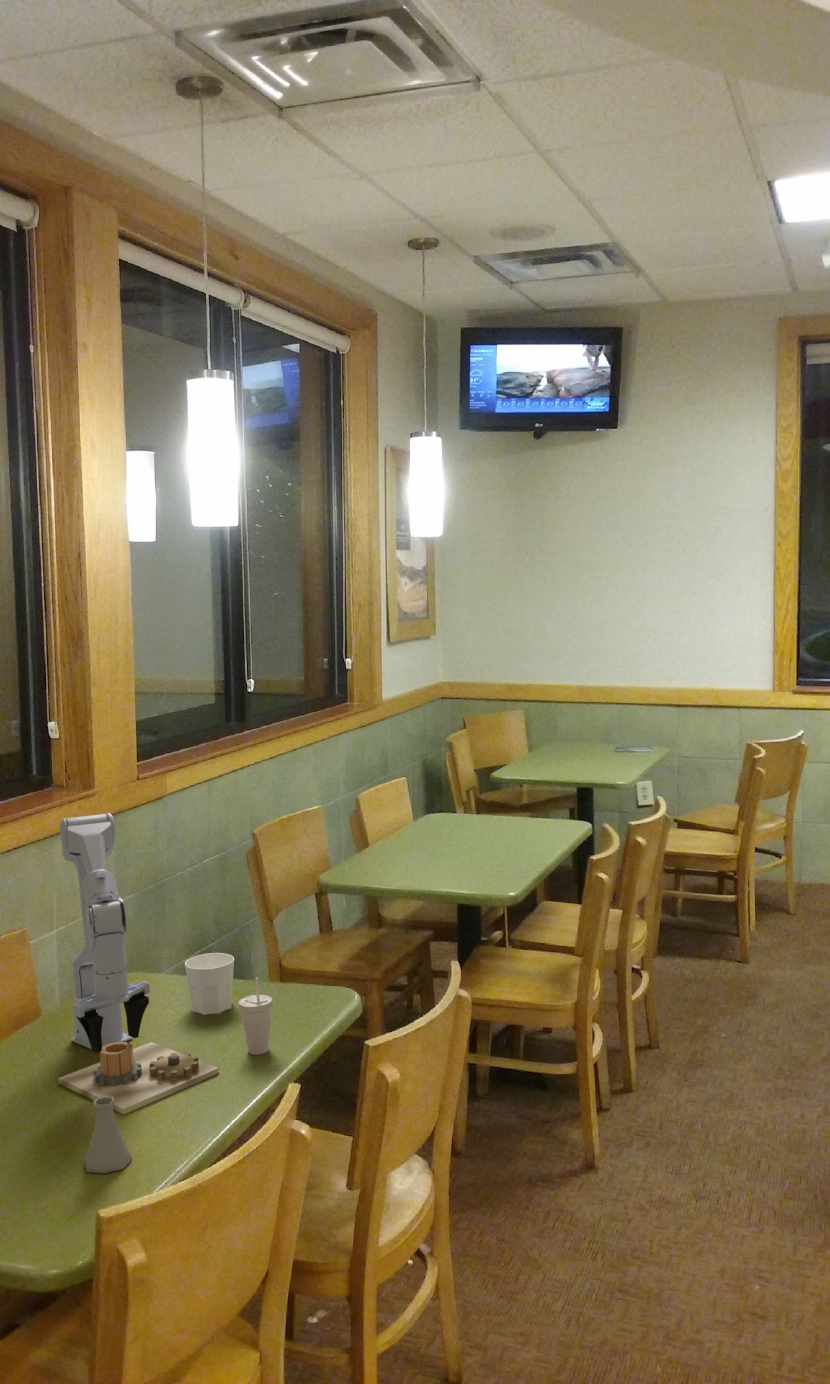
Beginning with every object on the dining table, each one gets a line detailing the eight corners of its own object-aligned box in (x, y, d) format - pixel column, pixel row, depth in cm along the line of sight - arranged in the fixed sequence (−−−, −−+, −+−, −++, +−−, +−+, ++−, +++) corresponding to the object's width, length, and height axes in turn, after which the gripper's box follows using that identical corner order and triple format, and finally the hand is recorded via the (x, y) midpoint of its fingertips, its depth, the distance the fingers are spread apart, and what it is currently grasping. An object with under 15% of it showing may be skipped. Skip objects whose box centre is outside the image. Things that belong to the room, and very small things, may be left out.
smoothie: (269, 1058, 218) (264, 984, 216) (236, 1057, 219) (231, 983, 217) (280, 1044, 224) (275, 972, 222) (247, 1043, 225) (243, 971, 224)
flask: (88, 1154, 184) (84, 1092, 183) (135, 1150, 185) (131, 1088, 184) (79, 1177, 177) (74, 1113, 176) (128, 1173, 178) (124, 1109, 177)
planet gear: (84, 1078, 210) (82, 1050, 209) (124, 1062, 216) (122, 1035, 215) (111, 1090, 204) (109, 1061, 204) (151, 1074, 210) (149, 1046, 210)
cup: (189, 1000, 249) (186, 955, 248) (237, 997, 250) (235, 951, 249) (186, 1018, 239) (182, 971, 238) (235, 1014, 240) (233, 967, 239)
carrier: (58, 1083, 211) (56, 1059, 210) (152, 1047, 225) (150, 1024, 225) (123, 1114, 197) (122, 1088, 197) (218, 1073, 212) (217, 1049, 211)
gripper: (86, 986, 200) (92, 1063, 202) (157, 962, 211) (162, 1035, 212) (64, 977, 205) (69, 1053, 206) (134, 954, 216) (139, 1026, 217)
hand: (115, 1043), depth 210 cm, fingers open, 7 cm apart
